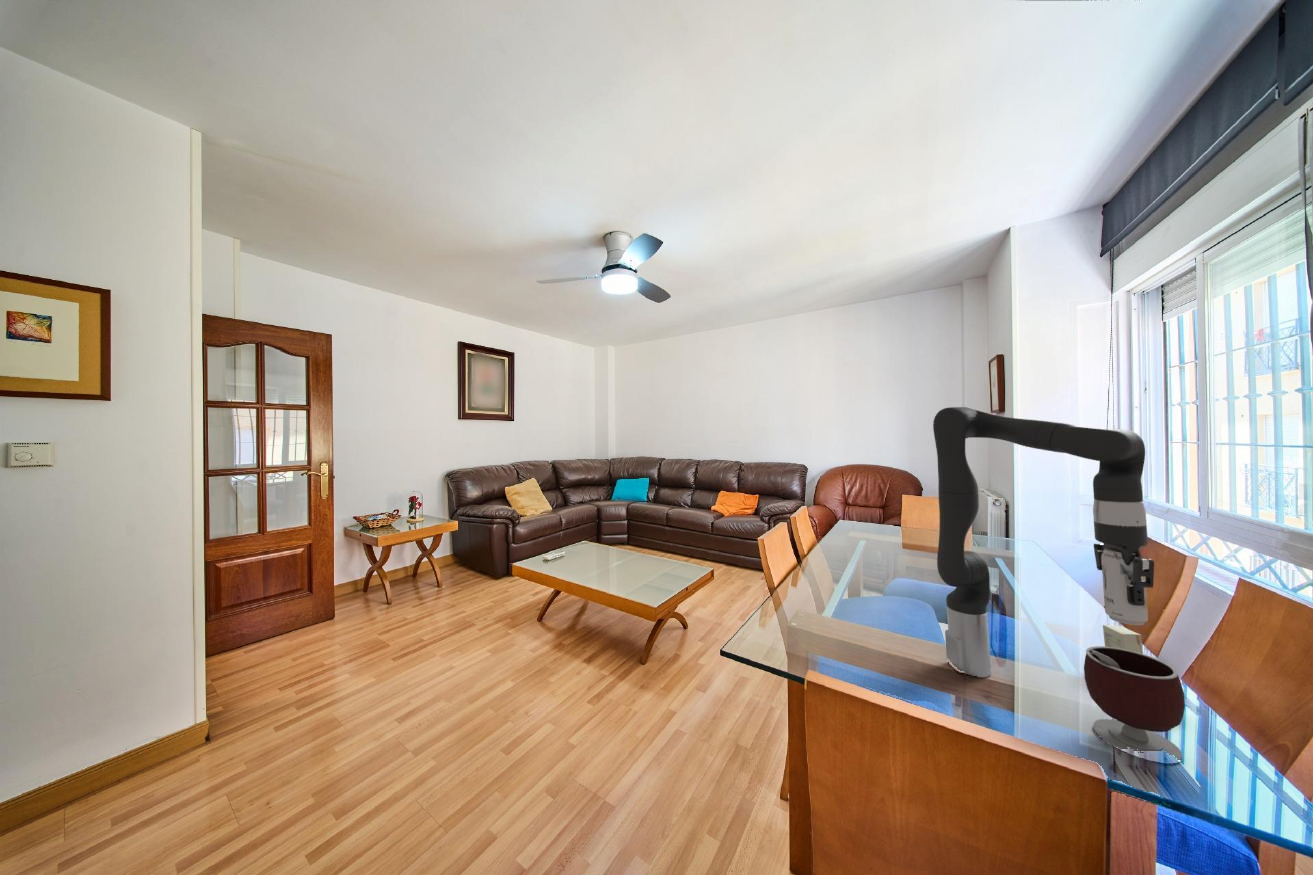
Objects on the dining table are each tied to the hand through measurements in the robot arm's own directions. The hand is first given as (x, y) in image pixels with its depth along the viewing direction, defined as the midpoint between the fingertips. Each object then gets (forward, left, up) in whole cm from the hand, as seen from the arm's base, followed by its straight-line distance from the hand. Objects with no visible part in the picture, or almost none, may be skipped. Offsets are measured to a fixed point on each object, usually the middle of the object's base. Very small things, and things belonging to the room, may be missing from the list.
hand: (1124, 598), depth 86 cm
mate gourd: (-1, 0, -31) cm, 31 cm away
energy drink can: (0, 0, -5) cm, 5 cm away
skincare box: (+21, +27, -31) cm, 46 cm away
